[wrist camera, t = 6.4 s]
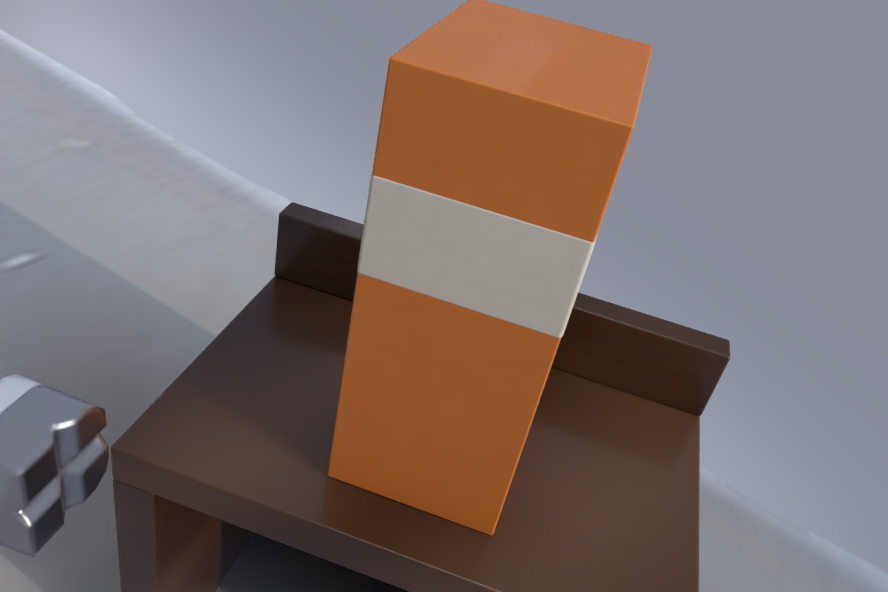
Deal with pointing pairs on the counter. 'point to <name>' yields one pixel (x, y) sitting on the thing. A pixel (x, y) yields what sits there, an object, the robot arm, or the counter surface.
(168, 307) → the counter surface
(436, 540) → the brown wooden cabinet
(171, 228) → the counter surface
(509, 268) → the packet
